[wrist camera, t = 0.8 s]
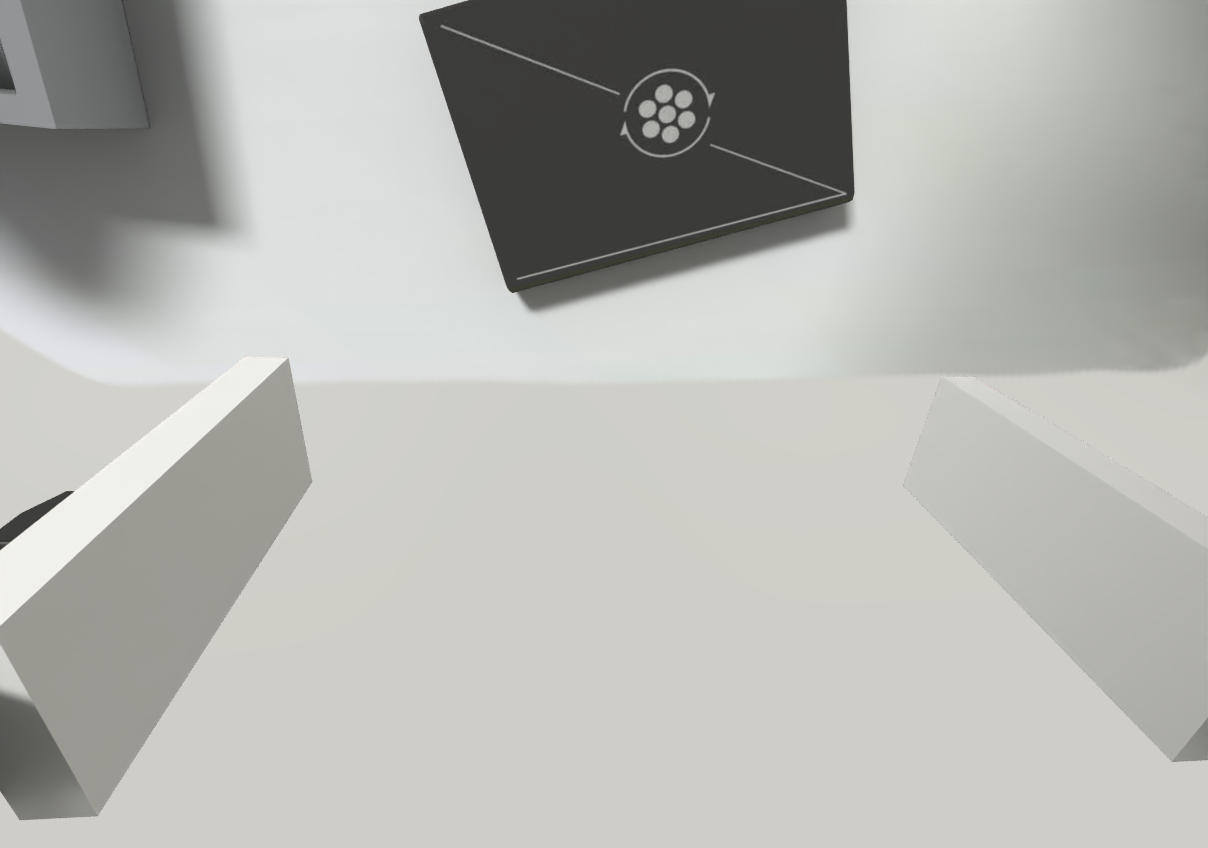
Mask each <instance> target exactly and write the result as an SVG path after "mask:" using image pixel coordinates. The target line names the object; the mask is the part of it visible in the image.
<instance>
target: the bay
mask: <svg viewBox="0 0 1208 848" xmlns="http://www.w3.org/2000/svg"><path fill="white" fill-rule="evenodd" d="M0 40H1V43H2V46H3V50H4V53H5V56H6V60H7V63H8V66H9V69H10V73H11V76H12V79H13V83H14V86H15V89H16V90H12V89H3V88H0V123H1V124H11V125H21V126H31V127H41V128H51V129H125V128H150V126H149V122H148V117H147V113H146V108H145V104H144V99H143V95H142V90H141V85H140V81H139V76H138V72H137V67H136V63H135V58H134V53H133V49H132V44H131V40H130V35H129V31H128V26H127V22H126V17H125V12H124V8H123V3H122V0H0Z"/></svg>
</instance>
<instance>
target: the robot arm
mask: <svg viewBox="0 0 1208 848" xmlns="http://www.w3.org/2000/svg"><path fill="white" fill-rule="evenodd" d="M311 483H312V478H311V473H310V468H309V463H308V457H307V452H306V447H305V442H304V437H303V431H302V426H301V421H300V416H299V411H298V406H297V401H296V395H295V390H294V385H293V379H292V374H291V369H290V364H289V359H288V358H279V357H244V358H243V359H241V360H240V361H239V362H237V363H236V364H235V365H234V366H232V367H231V368H230V369H229V370H227V371H226V372H225V373H224V374H222V375H221V376H220V377H219V378H217V379H216V380H215V381H213V382H212V383H211V384H210V385H208V386H207V387H206V388H205V389H203V390H202V391H201V392H200V393H199V394H197V395H196V396H195V397H193V398H192V399H191V400H189V401H188V402H187V403H186V404H184V405H183V406H182V407H181V408H179V409H178V410H177V411H176V412H174V413H173V414H172V415H171V416H169V417H168V418H167V419H166V420H164V421H163V422H162V423H160V424H159V425H158V426H157V427H155V428H154V429H153V430H152V431H150V432H149V433H148V434H147V435H145V436H144V437H143V438H142V439H140V440H139V441H138V442H137V443H135V444H134V445H133V446H131V447H130V448H129V449H128V450H126V451H125V452H124V453H123V454H121V455H120V456H119V457H118V458H116V459H115V460H114V461H112V462H111V463H110V464H109V465H107V466H106V467H105V468H104V469H102V470H101V471H100V472H99V473H97V474H96V475H95V476H94V477H92V478H91V479H90V480H89V481H87V482H86V483H85V484H83V485H82V486H81V487H80V488H78V489H77V490H76V491H66V492H64V493H62V494H60V495H58V496H56V497H54V498H52V499H50V500H47V501H45V502H43V503H41V504H39V505H37V506H35V507H33V508H31V509H29V510H27V511H25V512H23V513H21V514H19V515H18V516H17V517H15V518H14V519H13V520H12V521H10V522H9V523H7V524H6V525H5V526H3V527H2V528H1V529H0V791H1V793H2V794H3V796H4V797H5V799H6V800H7V802H8V803H9V805H10V806H11V808H12V809H13V811H14V812H15V814H16V815H17V816H18V818H19V820H31V819H50V818H71V817H90V816H98V814H99V813H100V811H101V810H102V808H103V807H104V805H105V804H106V802H107V800H108V799H109V797H110V796H111V794H112V792H113V791H114V790H115V788H116V786H117V785H118V783H119V782H120V780H121V779H122V777H123V776H124V774H125V772H126V771H127V769H128V768H129V766H130V765H131V763H132V762H133V760H134V759H135V757H136V755H137V753H138V752H139V751H140V749H141V747H142V746H143V744H144V743H145V741H146V740H147V738H148V737H149V735H150V734H151V732H152V730H153V729H154V727H155V726H156V724H157V722H158V721H159V719H160V718H161V716H162V715H163V713H164V712H165V710H166V709H167V707H168V706H169V704H170V702H171V701H172V699H173V698H174V696H175V694H176V693H177V692H178V690H179V688H180V687H181V685H182V684H183V682H184V681H185V679H186V678H187V676H188V674H189V673H190V671H191V670H192V668H193V667H194V665H195V663H196V662H197V660H198V659H199V657H200V656H201V654H202V653H203V651H204V650H205V648H206V646H207V645H208V643H209V642H210V640H211V639H212V637H213V636H214V634H215V632H216V631H217V629H218V628H219V626H220V625H221V623H222V622H223V620H224V618H225V617H226V615H227V614H228V612H229V611H230V609H231V607H232V606H233V604H234V603H235V601H236V600H237V598H238V596H239V595H240V594H241V592H242V590H243V589H244V587H245V586H246V584H247V583H248V581H249V579H250V578H251V576H252V575H253V573H254V572H255V570H256V568H257V567H258V565H259V564H260V562H261V561H262V559H263V558H264V556H265V555H266V553H267V551H268V550H269V548H270V547H271V545H272V543H273V542H274V540H275V539H276V537H277V536H278V534H279V533H280V531H281V529H282V528H283V527H284V525H285V523H286V522H287V520H288V519H289V517H290V516H291V514H292V512H293V511H294V509H295V508H296V506H297V505H298V503H299V502H300V500H301V499H302V497H303V495H304V494H305V492H306V491H307V489H308V488H309V486H310V484H311ZM903 486H904V487H905V488H906V489H907V490H908V491H909V492H910V493H911V494H912V495H913V496H914V497H915V498H916V499H917V500H918V501H919V502H920V503H921V505H922V506H923V507H924V508H925V509H927V511H928V512H929V513H930V514H931V515H932V516H933V517H934V518H935V519H936V520H937V521H938V522H939V523H940V524H941V525H942V526H943V527H944V528H945V529H946V530H947V531H948V532H949V533H950V534H951V535H952V536H953V537H954V538H955V539H956V540H957V541H958V542H959V543H960V545H961V546H962V547H964V549H965V550H966V551H967V552H969V554H970V555H971V556H972V557H973V558H974V559H975V560H976V561H977V562H978V563H979V564H980V565H981V566H982V567H983V568H984V569H985V570H986V571H987V572H988V573H989V574H990V575H991V576H992V577H993V578H994V580H996V582H997V583H998V584H1000V586H1001V587H1002V588H1003V589H1004V590H1005V591H1006V592H1007V593H1008V594H1009V595H1010V596H1011V597H1012V598H1013V599H1014V600H1015V601H1016V602H1017V603H1018V604H1019V605H1020V606H1021V607H1022V608H1023V609H1024V610H1025V611H1026V612H1027V613H1028V614H1029V615H1030V616H1031V618H1033V620H1034V621H1036V623H1037V624H1038V625H1039V626H1040V627H1041V628H1042V629H1043V630H1044V631H1045V632H1046V633H1047V634H1048V635H1049V636H1050V637H1051V638H1052V639H1053V640H1054V641H1055V642H1056V643H1057V644H1058V645H1059V646H1060V647H1061V648H1062V649H1063V650H1064V651H1065V652H1066V653H1067V654H1068V656H1069V657H1071V659H1072V660H1073V661H1074V662H1075V663H1076V664H1077V665H1078V666H1079V667H1080V668H1081V669H1082V670H1083V671H1084V672H1085V673H1086V674H1087V675H1088V676H1089V677H1090V678H1091V679H1092V680H1093V681H1094V682H1095V683H1096V684H1097V685H1098V686H1099V687H1100V688H1101V689H1102V690H1103V691H1104V693H1106V695H1107V696H1108V697H1109V698H1110V699H1112V701H1113V702H1114V703H1115V704H1116V705H1117V706H1118V707H1119V708H1120V709H1121V710H1122V711H1123V712H1124V713H1125V714H1126V715H1127V716H1128V717H1129V718H1130V719H1131V720H1132V721H1133V722H1134V723H1135V724H1136V725H1137V726H1138V727H1139V728H1140V730H1142V732H1144V733H1145V735H1146V736H1147V737H1148V738H1149V739H1150V740H1151V741H1152V742H1153V743H1154V744H1155V745H1156V746H1157V747H1158V748H1159V749H1160V750H1161V751H1162V752H1163V753H1164V754H1165V755H1166V756H1167V757H1168V758H1169V759H1170V760H1171V761H1172V762H1178V761H1197V760H1208V517H1207V516H1206V515H1204V514H1202V513H1201V512H1199V511H1197V510H1196V509H1194V508H1192V507H1191V506H1189V505H1188V504H1186V503H1184V502H1183V501H1181V500H1179V499H1177V498H1176V497H1174V496H1173V495H1171V494H1169V493H1168V492H1166V491H1164V490H1163V489H1161V488H1159V487H1157V486H1156V485H1154V484H1153V483H1151V482H1149V481H1148V480H1146V479H1144V478H1143V477H1141V476H1139V475H1138V474H1136V473H1134V472H1133V471H1131V470H1129V469H1128V468H1126V467H1124V466H1123V465H1121V464H1119V463H1118V462H1116V461H1114V460H1113V459H1111V458H1109V457H1108V456H1106V455H1104V454H1103V453H1101V452H1099V451H1098V450H1096V449H1094V448H1093V447H1091V446H1089V445H1088V444H1086V443H1084V442H1083V441H1081V440H1079V439H1078V438H1076V437H1074V436H1073V435H1071V434H1070V433H1068V432H1066V431H1064V430H1063V429H1061V428H1060V427H1058V426H1056V425H1054V424H1053V423H1051V422H1049V421H1048V420H1046V419H1045V418H1043V417H1041V416H1039V415H1038V414H1036V413H1035V412H1033V411H1031V410H1030V409H1028V408H1026V407H1025V406H1023V405H1021V404H1020V403H1018V402H1016V401H1015V400H1013V399H1011V398H1010V397H1008V396H1006V395H1005V394H1003V393H1001V392H1000V391H998V390H996V389H995V388H993V387H991V386H990V385H988V384H986V383H985V382H983V381H981V380H980V379H978V378H976V377H964V376H941V379H940V382H939V385H938V388H937V391H936V393H935V396H934V399H933V402H932V405H931V408H930V411H929V413H928V416H927V419H926V422H925V425H924V427H923V430H922V433H921V436H920V439H919V442H918V444H917V447H916V450H915V453H914V456H913V458H912V461H911V464H910V467H909V470H908V473H907V476H906V478H905V481H904V484H903Z"/></svg>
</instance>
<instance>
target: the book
mask: <svg viewBox="0 0 1208 848" xmlns="http://www.w3.org/2000/svg"><path fill="white" fill-rule="evenodd" d="M419 20H420V23H421V27H422V30H423V33H424V36H425V39H426V42H427V45H428V48H429V51H430V54H431V57H432V60H433V63H434V66H435V69H436V72H437V75H438V78H439V81H440V85H441V88H442V91H443V94H444V97H445V100H446V103H447V106H448V109H449V112H450V115H451V118H452V121H453V124H454V127H455V130H456V133H457V136H458V139H459V143H460V146H461V149H462V152H463V155H464V158H465V161H466V164H467V167H468V170H469V173H470V176H471V179H472V182H473V185H474V188H475V191H476V194H477V197H478V201H479V204H480V207H481V210H482V213H483V216H484V219H485V222H486V225H487V228H488V231H489V234H490V237H491V240H492V243H493V246H494V249H495V252H496V255H497V259H498V262H499V265H500V268H501V271H502V274H503V277H504V280H505V283H506V286H507V288H508V290H509V291H510V292H512V293H514V292H518V291H522V290H525V289H529V288H533V287H536V286H540V285H544V284H547V283H551V282H555V281H559V280H562V279H566V278H570V277H573V276H577V275H581V274H584V273H588V272H592V271H596V270H599V269H603V268H607V267H610V266H614V265H618V264H621V263H625V262H629V261H633V260H636V259H640V258H644V257H647V256H651V255H655V254H658V253H662V252H666V251H670V250H673V249H677V248H681V247H684V246H688V245H692V244H695V243H699V242H703V241H707V240H710V239H714V238H718V237H721V236H725V235H729V234H732V233H736V232H740V231H744V230H747V229H751V228H755V227H758V226H762V225H766V224H770V223H773V222H777V221H781V220H784V219H788V218H792V217H795V216H799V215H803V214H807V213H810V212H814V211H818V210H821V209H825V208H829V207H832V206H836V205H840V204H844V203H847V202H850V201H851V200H853V196H854V173H853V149H852V125H851V100H850V76H849V52H848V28H847V4H846V0H468V1H464V2H461V3H457V4H454V5H450V6H447V7H443V8H440V9H437V10H433V11H430V12H426V13H423V14H420V16H419Z"/></svg>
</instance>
